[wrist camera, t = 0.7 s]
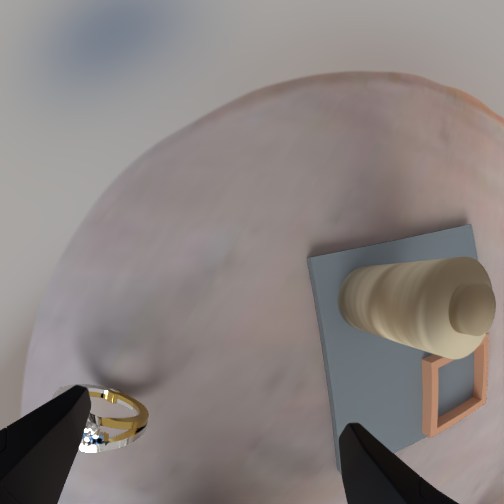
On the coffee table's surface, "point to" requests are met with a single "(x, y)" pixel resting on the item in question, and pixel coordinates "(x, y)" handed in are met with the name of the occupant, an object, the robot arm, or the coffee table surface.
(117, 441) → the ring
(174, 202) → the coffee table surface
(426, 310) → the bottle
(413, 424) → the board
